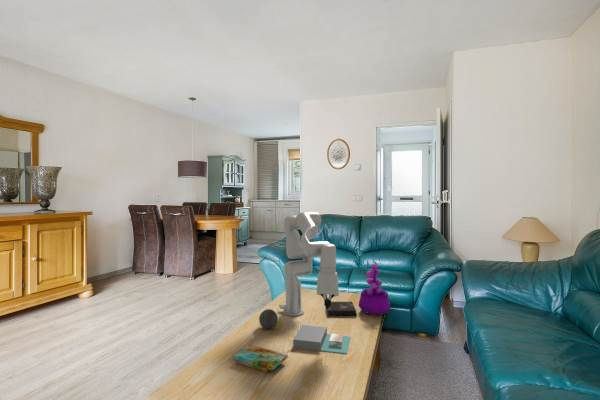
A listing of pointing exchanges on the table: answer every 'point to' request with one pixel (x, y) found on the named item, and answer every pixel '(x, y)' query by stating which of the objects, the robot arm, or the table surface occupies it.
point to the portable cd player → (342, 309)
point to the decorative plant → (374, 295)
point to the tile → (336, 340)
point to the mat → (332, 348)
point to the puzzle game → (259, 358)
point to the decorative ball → (268, 319)
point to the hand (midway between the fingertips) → (327, 307)
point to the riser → (310, 337)
